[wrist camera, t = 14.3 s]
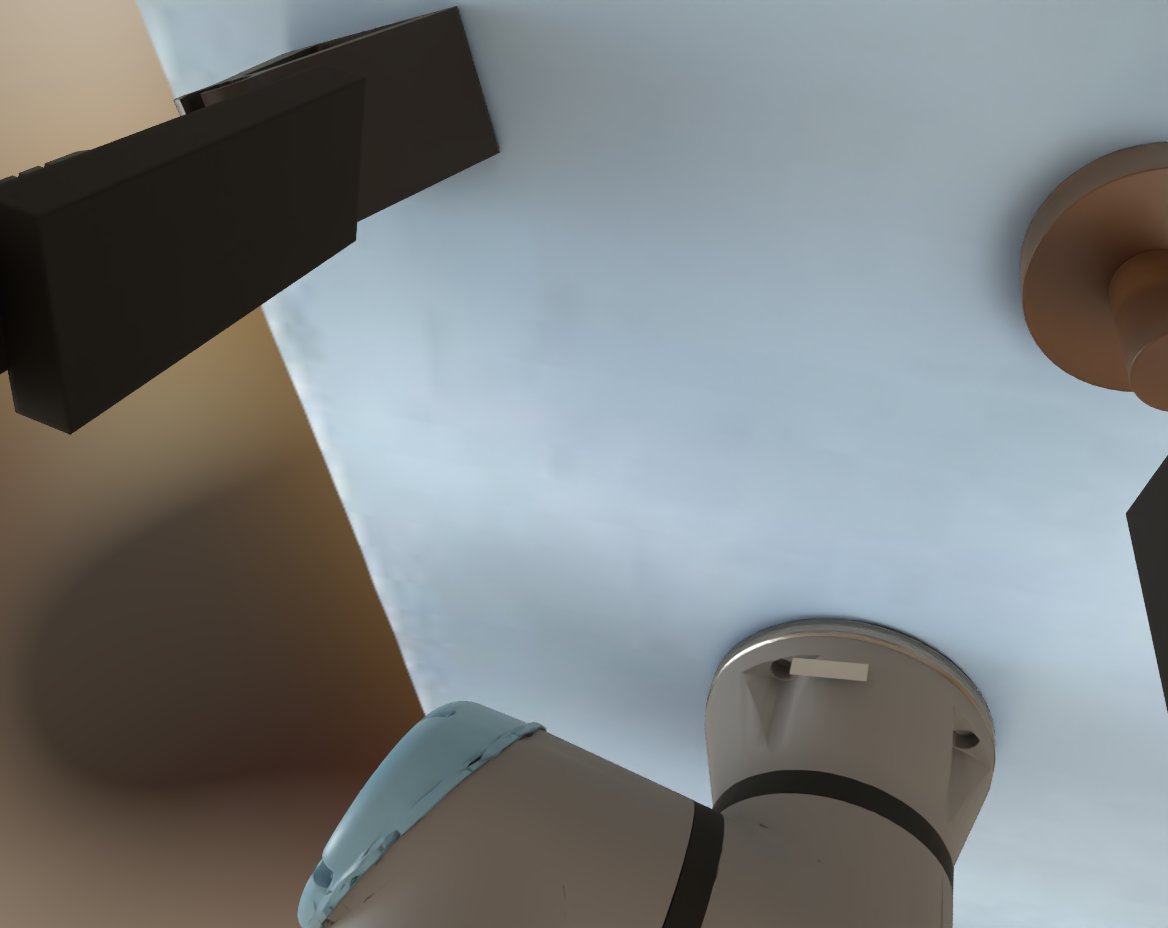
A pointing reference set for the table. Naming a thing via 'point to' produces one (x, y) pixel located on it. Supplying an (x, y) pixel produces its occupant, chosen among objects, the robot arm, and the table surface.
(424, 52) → the phone stand
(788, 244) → the table surface
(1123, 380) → the walnut peg
